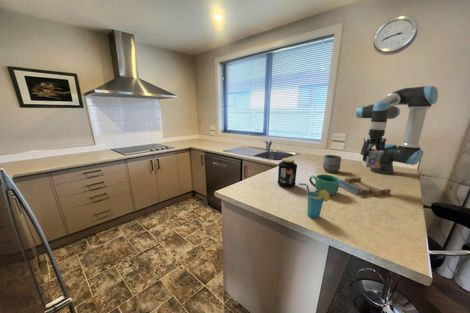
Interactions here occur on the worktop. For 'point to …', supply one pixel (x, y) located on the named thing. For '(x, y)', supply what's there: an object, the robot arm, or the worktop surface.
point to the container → (287, 172)
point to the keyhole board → (361, 188)
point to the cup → (315, 202)
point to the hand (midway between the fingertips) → (370, 165)
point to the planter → (331, 163)
